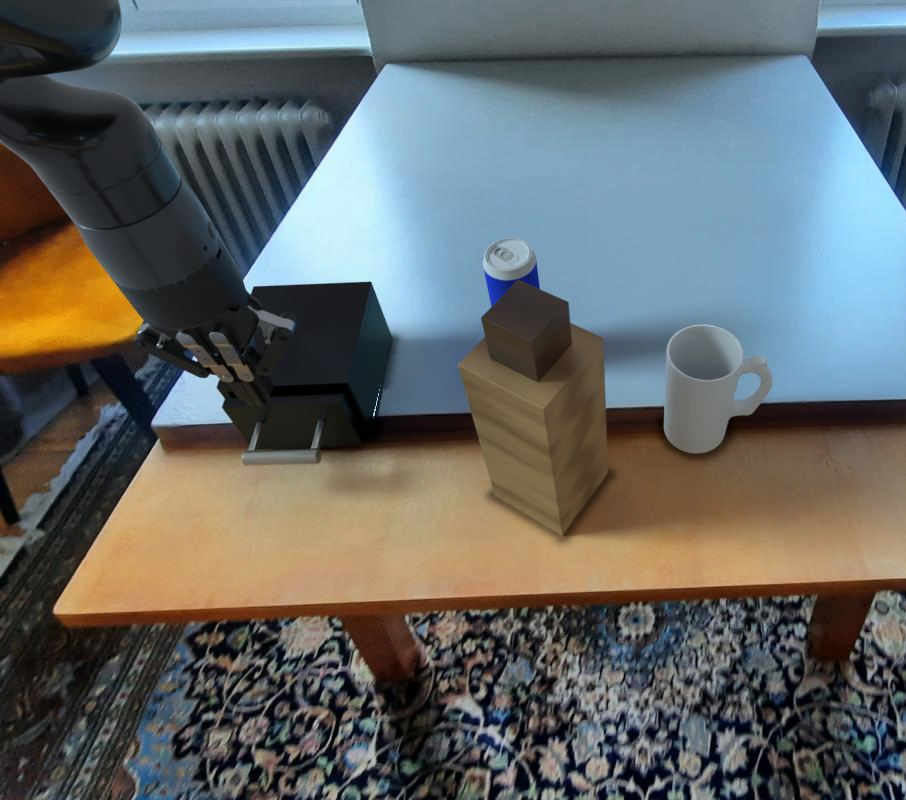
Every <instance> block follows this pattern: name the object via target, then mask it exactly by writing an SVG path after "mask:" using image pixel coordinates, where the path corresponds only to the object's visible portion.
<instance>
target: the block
mask: <svg viewBox="0 0 906 800" xmlns="http://www.w3.org/2000/svg"><path fill="white" fill-rule="evenodd" d="M480 320H481V325H482V329H483V334H484V337H485V338H486V343H487V347H488V351H489V356H490V359H492V360H494V361H496V362H498V363H500V364H502V365H504V366H506V367H508V368H510V369H512V370H514V371H516V372H518V373H520V374H522V375H524V376H526V377H528V378H530V379H532V380H534V381H536V382H539V381H540V380H541V379H542V378H543V376H544V375H545V374H546V373H547V372H548V371H549V370H550V368H551V367H552V366H553V365H554V364H555V363H556V361H557V360H558V359H559V358H560V357H561V356H562V354H563V353H564V352H565V351H566V350H567V349H568V347H569V346H570V345H571V344H572V337H571V325H570V323H571V315H570V303H569V301H567V300H565V299H563V298H561V297H558V296H556V295H554V294H552V293H550V292H547V291H545V290H543V289H541V288H540V289H538V288H536V287H534V286H532V285H529V284H527V283H525V282H523V281H520V280H517V281H516V282H515V283H514V285H513V286H512V287H511V288H510V289H509V290H508V291H507V292H506V293H505V294H504V295H503V296H502V297H501V298H500V299H499V300H498V301H497V302H496V303H495V304H494V305H493V306H492V307H491V306H490V308H489V309H488V310H487V311H486V312H485V313H484V314H483V315H482V316H481V317H480Z"/></svg>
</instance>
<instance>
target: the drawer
mask: <svg viewBox="0 0 906 800" xmlns="http://www.w3.org/2000/svg"><path fill="white" fill-rule="evenodd" d="M221 408H222V410H223V411H224V413H225V414H226V415H227V417H228V418H229V420H230V421H231V423H233V425H234V426H235V428H236V429H237V430H238V432H239V433H240V434H241V436H242V437H243V438H244V439H245V441H246V442H247V444H248V445H249V446H248V450H244V451H243V452H242V454H241V462H242V465H243V466H245V467H253V466H256V467H257V466H283V465H285V466H286V465H316V464H320V463H321V461H322V452H321V448H344V447H345V448H346V447H363V446H364V443H365V438H366V437H365V436H364V434H363V432H362V430H361V428H360V426H359V424H360V423H359V421H358V419H357V417H356V415H355V413H354V411H353V409H352V407H351V405H350V403H349V401H348V399H347V397H346V395H345V393H344V391H343V389H342V388H332V389H304V390H277V391H272V393H271V396H270V399H269V400H267V403H266V405H259V406H248V405H247V404H246V403H245V401H242V400H240V399H239V398H238V397H230V398H225V399H224V400H223V402H222V405H221Z"/></svg>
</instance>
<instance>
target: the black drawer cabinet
mask: <svg viewBox="0 0 906 800" xmlns="http://www.w3.org/2000/svg"><path fill="white" fill-rule="evenodd" d="M250 294H251V295H252V296H253V297H255V298H256V299H257V300H258V301H259V302H260V303H261V305H262V309H263V311H266V312H269V313H271V314H274V315H276V316H279V317H280V316H281V314H282V313H283V312H291V313H294V314H295V315H296V316H297V322H296V325H295V328H294V332H293V335H292V338H291V341H290V344H289V345H288V347H287V349H286V350H285V352H284V354H283V355H282V357H281V359H280V361H279V362H278V364H277V366H276V367H275V369H274V371H273V372H272V374H271V375H270V376H269V377H270V379H271V380H272V382H273V389H272V391H277V390H304V389H332V388H342V389H343V391H344V393H345V395H346V397H347V399H348V401H349V403H350V405H351V407H352V409H353V411H354V413H355V415H356V417H357V419H358V421H359V423H360V424H359V426H360V428H361V430H362V432H363V434H364V436H365V438H373V437H375V434H376V433H375V432H376V429H377V424H378V418H379V412H380V407H381V404H382V403H381V402H382V397H383V392H384V387H385V381H386V377H387V371H388V366H389V361H390V357H391V356H390V355H391V351H392V347H393V346H392V345H393V340H394V338H393V335H392V333H391V331H390V328H389V325H388V322H387V319H386V316H385V313H384V312H383V309H382V307H381V303H380V301H379V298H378V296H377V293H376V291H375V288H374V284H373V283H372V281H350V282H328V283H325V282H324V283H323V282H322V283H304V284H302V283H301V284H300V283H299V284H275V285H254V286H253V287H252V289H251V292H250ZM262 332H263V331H262V329H261V328H260V327H259V326H257V328H256V330H255V332H254V342H255V345H256V347H257V349H258V351H260V350H263V348H264V345H265V344H266V343H265V339H266V338H264V337H263V335H262ZM218 379H219V378H218ZM380 385H381V386H380ZM379 389H380V391H379ZM216 390H218V392H219V393H220V395H221V396H222V397H223V399H224V400H225V398H230V397H237V396H236V395H235V393H234V392H233V390H232V389H231V388H230V386H229V385H228V383H227V382H224V381H222V380H220V379H219V380H218V382H217V385H216ZM378 393H379V396H378ZM377 397H378V401H377ZM376 401H377V406H376ZM375 406H376V411H375V416H374V419H373V413H374V409H375Z"/></svg>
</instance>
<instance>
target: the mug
mask: <svg viewBox="0 0 906 800" xmlns="http://www.w3.org/2000/svg"><path fill="white" fill-rule="evenodd" d="M665 353H666V360H665V380H664V381H665V383H664V402H663V404H664V407H663V409H664V410H663V431H664V435H665V437H666V439H667V440H668V442H669V443H670V444H671V445H672V446H673V447H675V448H676V449H678V450H680V451H682V452H684V453H687V454H704V453H708V452H711V451H713V450H714V449H716V448H717V447H718V446H719V445H720V444H721V443H722V442H723V440H724V438H725V435H726V431H727V428H728V425H729V422H730V421H729V420H730V419H731V418H733V417H737V416H738V417H739V416H750V415H752V414H753V413H754V412H755V411H756V410H757V409H758V407H759V406H760V405H761V404H762V403H763V402H764V400H765V399H766V398H767V397H768V395H769V393H770V392H771V390H772V387H773V374H772V370H771V369H770V366H769V365H768V363H767V358H766V357H767V356H765V355H754V356H752V357H750V358H744V357H745V351H744V348H743V345H742V343H741V342H740V340H739V339H738V337H736V336H735V335H734V334H733V332H730V331H729V330H727V329H725V328H722V327H720V326H717V325H714V324H713V325H712V324H704V323H703V324H700V323H699V324H693V325H689V326H686V327H683V328H682V329H680V330H678V331H676V332H675V333H674V334H673V335H672V336H671V338H670V339H669V340H668V343H667V346H666V350H665ZM750 373H751V374H755V375H757V376H758V377H759V378H760V384H759V386H758V388H757V389H756V391H754V393H753V394H751V395H750V396H747V397H745V398H743V399H735V395H736V391H737V387H738V383H739V379H740V377H741V376H742V375H744V374H750Z"/></svg>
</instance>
